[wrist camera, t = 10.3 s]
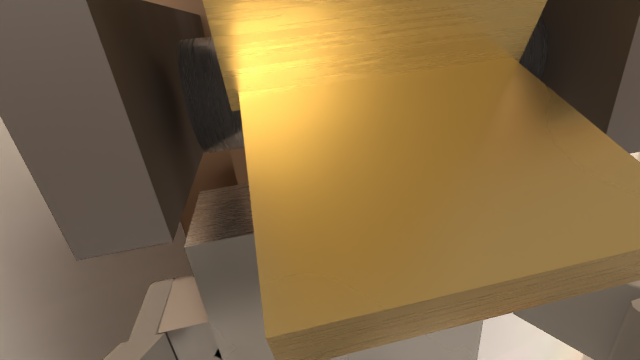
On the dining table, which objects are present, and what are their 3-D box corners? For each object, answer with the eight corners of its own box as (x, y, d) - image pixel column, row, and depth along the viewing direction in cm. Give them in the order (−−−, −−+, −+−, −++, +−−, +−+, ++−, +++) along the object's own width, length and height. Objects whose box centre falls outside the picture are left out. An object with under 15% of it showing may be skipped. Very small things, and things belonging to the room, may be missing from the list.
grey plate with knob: (429, 389, 12) (475, 479, 9) (270, 433, 11) (276, 542, 9) (445, 148, 8) (529, 199, 5) (199, 191, 7) (176, 272, 5)
